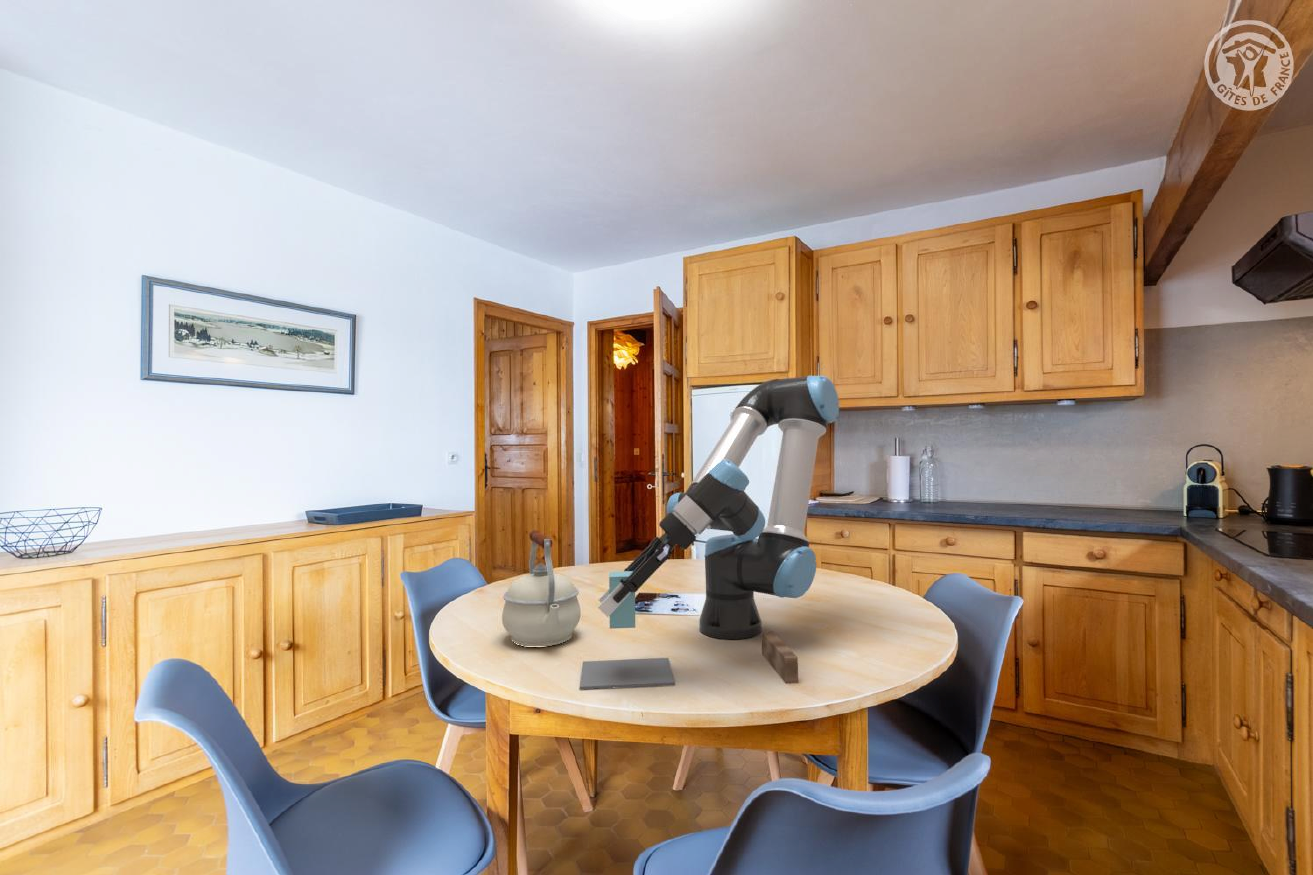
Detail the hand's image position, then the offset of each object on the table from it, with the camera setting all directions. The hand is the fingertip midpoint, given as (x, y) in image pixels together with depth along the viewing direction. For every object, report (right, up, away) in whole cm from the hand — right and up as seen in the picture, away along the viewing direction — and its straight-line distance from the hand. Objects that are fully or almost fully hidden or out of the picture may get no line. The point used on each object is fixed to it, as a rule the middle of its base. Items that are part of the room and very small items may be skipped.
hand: (603, 607), depth 119 cm
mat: (+5, -14, +1) cm, 14 cm away
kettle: (-16, -14, +22) cm, 31 cm away
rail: (+35, -13, +3) cm, 38 cm away
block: (+4, -3, 0) cm, 5 cm away
